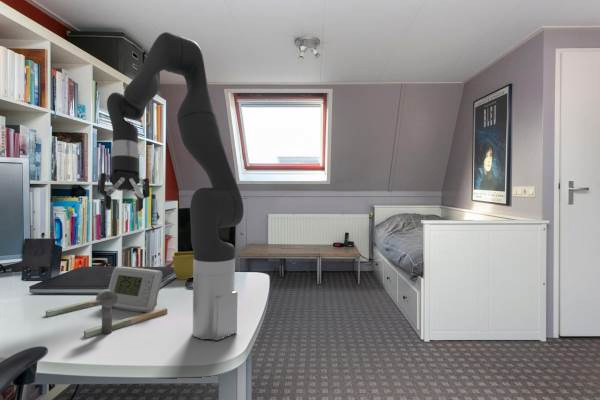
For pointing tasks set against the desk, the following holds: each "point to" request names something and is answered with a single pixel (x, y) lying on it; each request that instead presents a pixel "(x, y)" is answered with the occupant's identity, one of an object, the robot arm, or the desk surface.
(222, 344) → the desk surface
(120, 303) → the digital clock
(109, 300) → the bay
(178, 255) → the flower pot
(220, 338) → the robot arm
